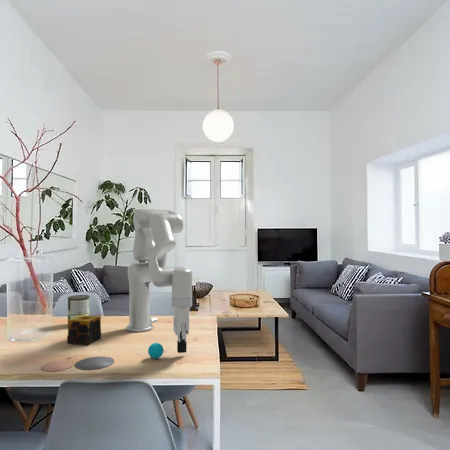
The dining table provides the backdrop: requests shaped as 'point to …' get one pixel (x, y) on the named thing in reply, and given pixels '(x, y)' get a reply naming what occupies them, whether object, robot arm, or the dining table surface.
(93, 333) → the candle
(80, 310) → the coffee can
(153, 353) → the ball
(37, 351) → the dining table surface
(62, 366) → the disc
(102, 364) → the disc
